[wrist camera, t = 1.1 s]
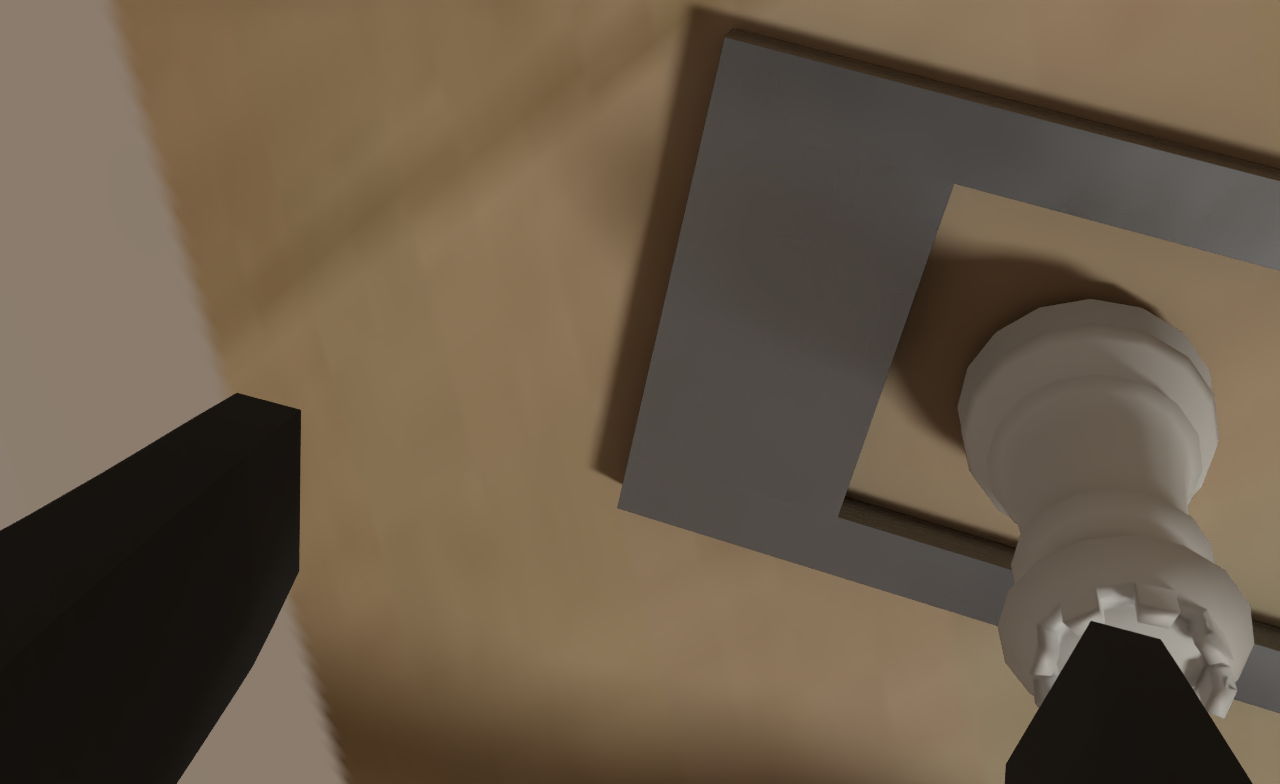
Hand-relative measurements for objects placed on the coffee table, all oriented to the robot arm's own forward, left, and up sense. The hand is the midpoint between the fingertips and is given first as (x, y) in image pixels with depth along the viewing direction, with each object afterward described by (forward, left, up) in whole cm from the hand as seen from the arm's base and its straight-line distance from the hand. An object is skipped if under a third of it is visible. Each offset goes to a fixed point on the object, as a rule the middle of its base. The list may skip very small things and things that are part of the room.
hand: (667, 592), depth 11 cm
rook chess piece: (-3, -6, -13) cm, 14 cm away
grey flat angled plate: (-3, -6, -13) cm, 14 cm away
